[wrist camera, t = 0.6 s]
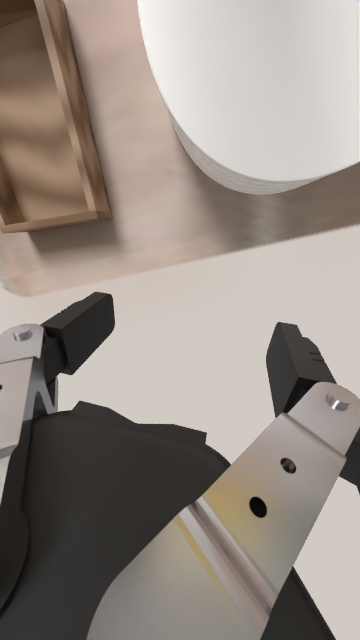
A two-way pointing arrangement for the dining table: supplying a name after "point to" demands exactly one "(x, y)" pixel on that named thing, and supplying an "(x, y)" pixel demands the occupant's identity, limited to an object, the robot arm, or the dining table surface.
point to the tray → (44, 124)
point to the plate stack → (259, 86)
